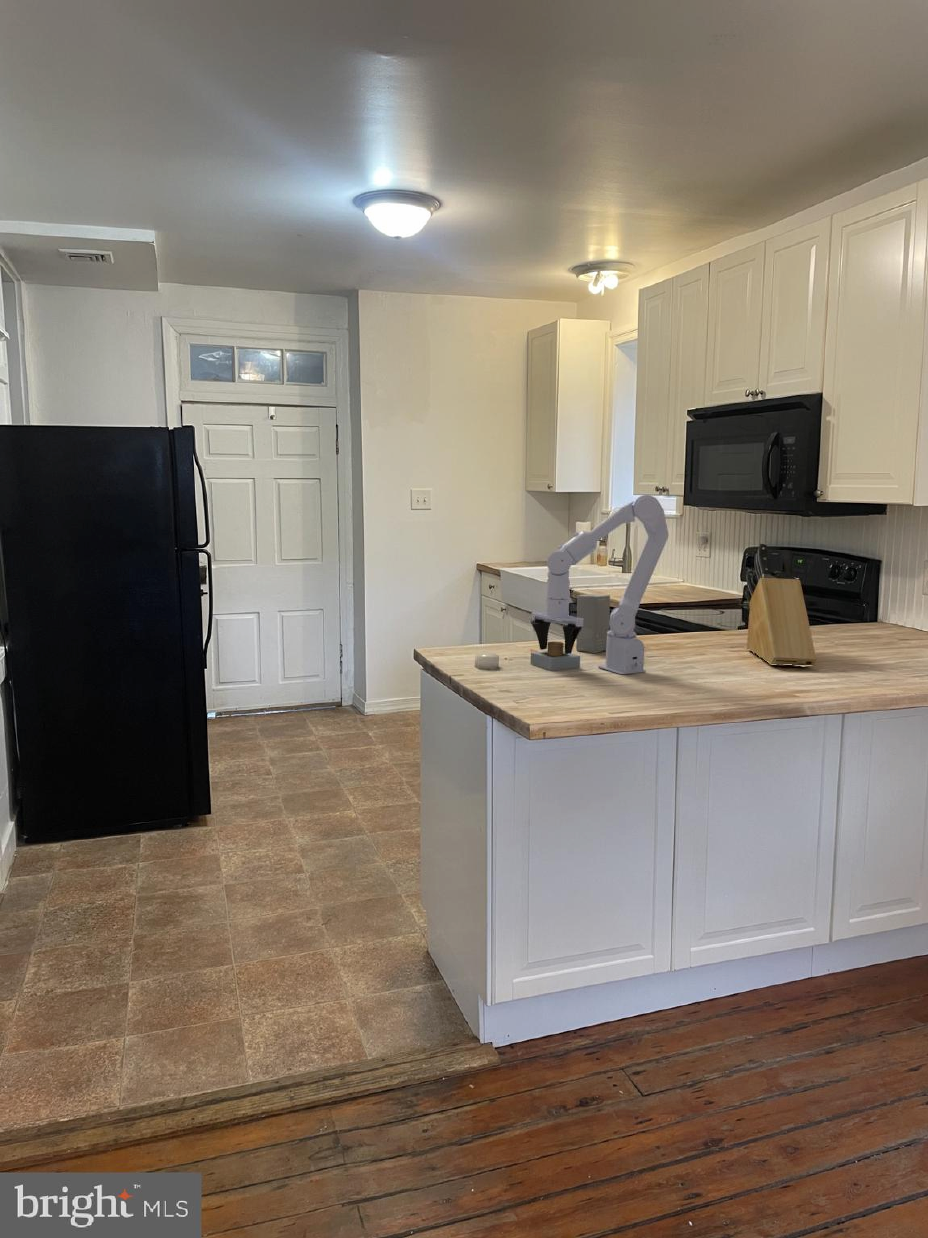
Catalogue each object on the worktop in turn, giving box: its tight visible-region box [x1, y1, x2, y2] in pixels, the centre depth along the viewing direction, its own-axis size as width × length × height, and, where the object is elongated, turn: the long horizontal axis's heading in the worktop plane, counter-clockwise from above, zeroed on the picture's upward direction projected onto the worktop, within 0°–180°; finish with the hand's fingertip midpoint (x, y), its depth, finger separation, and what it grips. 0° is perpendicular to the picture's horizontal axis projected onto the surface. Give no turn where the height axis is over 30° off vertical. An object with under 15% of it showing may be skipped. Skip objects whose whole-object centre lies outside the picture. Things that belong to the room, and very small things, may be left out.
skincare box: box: [575, 593, 611, 654], centre depth 250 cm, size 8×7×16 cm
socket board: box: [529, 650, 581, 671], centre depth 228 cm, size 9×9×3 cm
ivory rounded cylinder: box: [474, 652, 500, 670], centre depth 226 cm, size 6×6×3 cm
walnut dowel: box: [547, 641, 565, 657], centre depth 228 cm, size 4×4×6 cm
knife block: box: [745, 542, 817, 666], centre depth 246 cm, size 11×35×31 cm, turn 177°
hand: (555, 651), depth 228 cm, fingers open, 7 cm apart
